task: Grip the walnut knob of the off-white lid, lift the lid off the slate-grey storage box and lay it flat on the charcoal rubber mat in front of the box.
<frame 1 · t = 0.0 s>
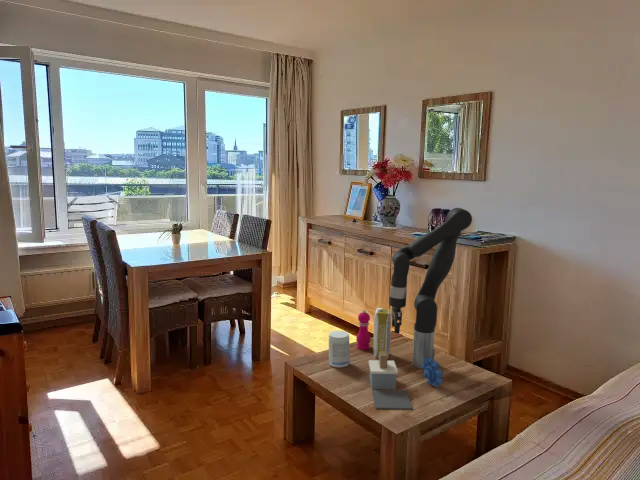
hand: (395, 329, 215), 17 cm above the table, tool pointing down, fingers open, 8 cm apart
rubber mat: (391, 400, 186), on the table
storage box: (382, 383, 200), on the table
pepper mill: (363, 348, 238), on the table
supplement tub: (338, 364, 219), on the table
juice carton: (381, 356, 228), on the table
lid: (382, 368, 198), point 7 cm above the table, touching storage box
grapes: (429, 385, 198), on the table
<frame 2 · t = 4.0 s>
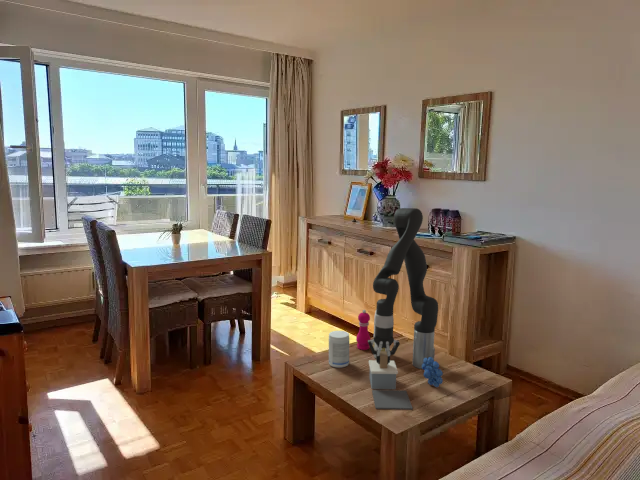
hand: (382, 363, 198), 9 cm above the table, tool pointing down, fingers closed on lid, 3 cm apart
lid: (382, 368, 198), point 7 cm above the table, touching gripper, storage box
everything else where it was.
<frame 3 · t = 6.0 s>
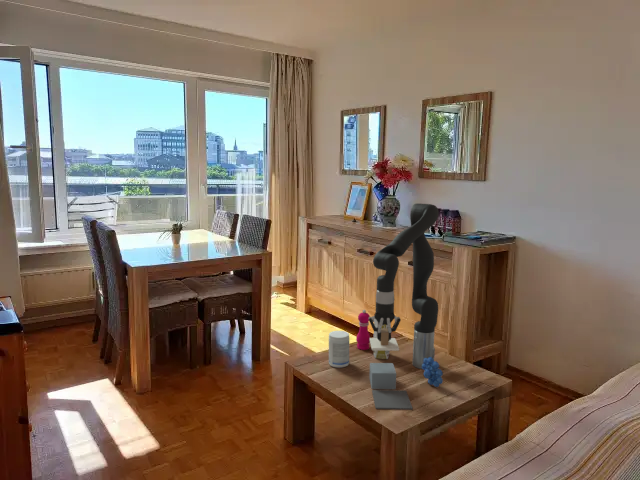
hand: (383, 340, 196), 19 cm above the table, tool pointing down, fingers closed on lid, 3 cm apart
lid: (383, 345, 197), point 17 cm above the table, touching gripper
everything else where it was.
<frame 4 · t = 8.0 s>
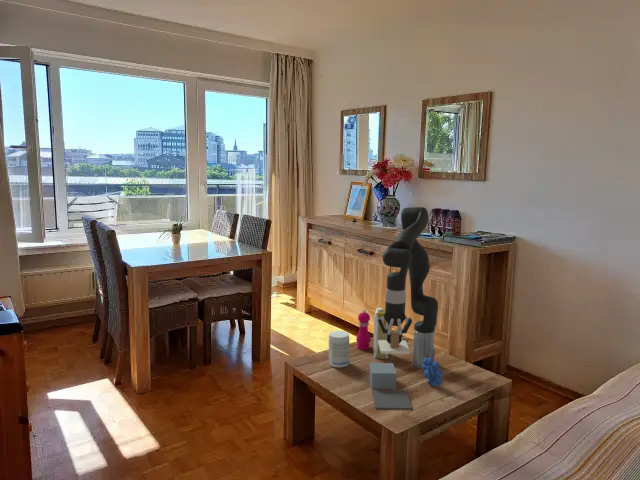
hand: (393, 342, 182), 24 cm above the table, tool pointing down, fingers closed on lid, 3 cm apart
lid: (393, 348, 182), point 22 cm above the table, touching gripper
everything else where it was.
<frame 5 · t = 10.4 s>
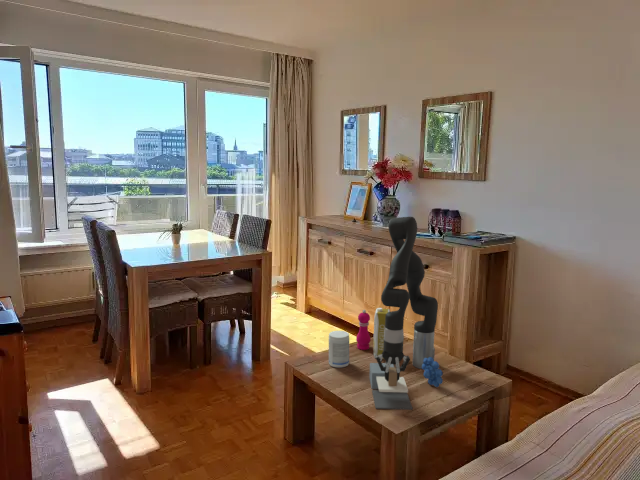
hand: (391, 380, 184), 8 cm above the table, tool pointing down, fingers closed on lid, 3 cm apart
lid: (391, 385, 185), point 6 cm above the table, touching gripper
everything else where it was.
when the fingers open (4 cm above the table, at t = 12.1 s): lid drops 2 cm, resting on rubber mat.
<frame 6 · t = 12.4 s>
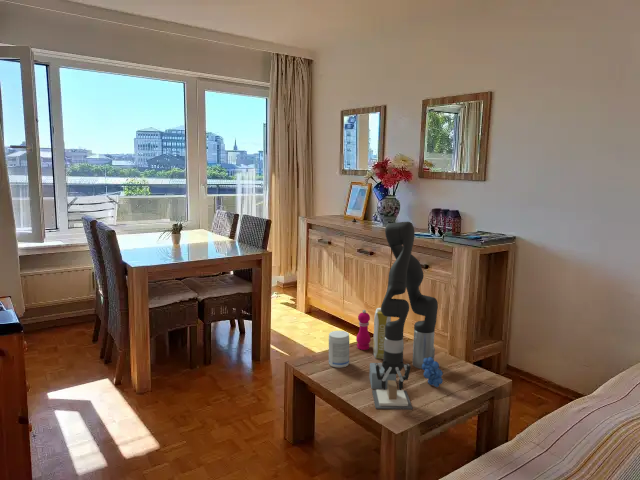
hand: (391, 389, 185), 5 cm above the table, tool pointing down, fingers open, 5 cm apart
lid: (391, 398, 186), point 1 cm above the table, touching rubber mat
everything else where it was.
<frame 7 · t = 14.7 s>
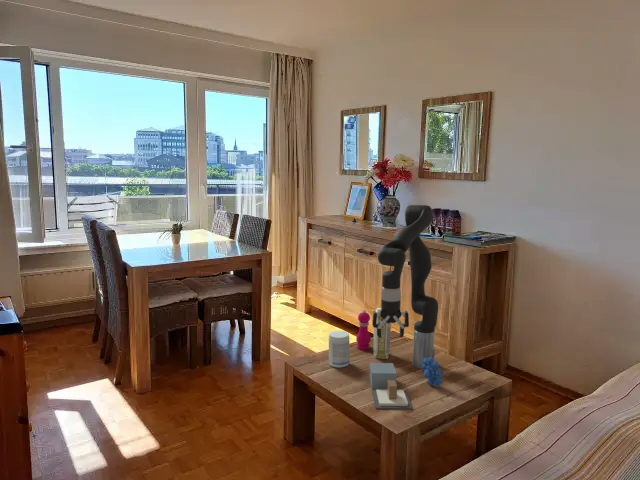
hand: (390, 336, 188), 24 cm above the table, tool pointing down, fingers open, 8 cm apart
nothing on the table moved.
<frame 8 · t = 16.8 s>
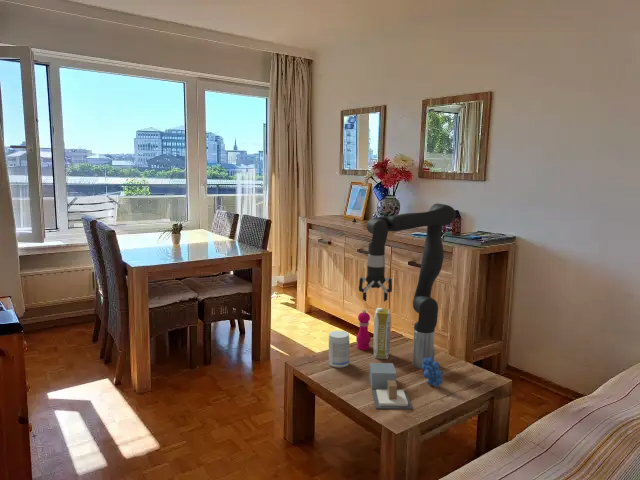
hand: (374, 300, 205), 33 cm above the table, tool pointing down, fingers open, 8 cm apart
nothing on the table moved.
at the end: lid inside the target area on the rubber mat (0.1 cm from its centre), point 0.6 cm above the rubber mat's base; lid tilted 0°; the gripper is holding nothing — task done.
